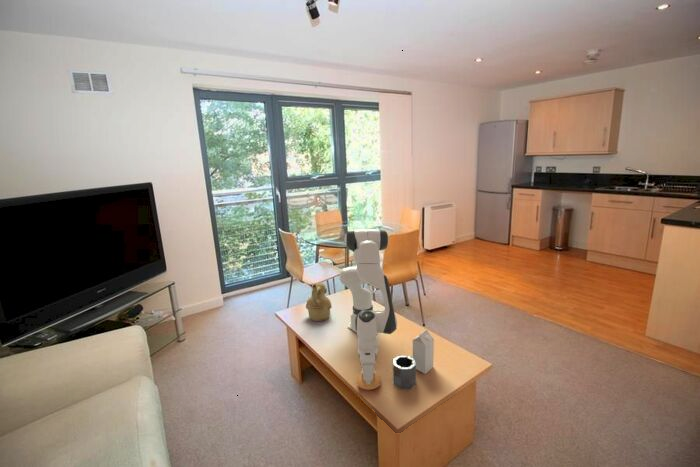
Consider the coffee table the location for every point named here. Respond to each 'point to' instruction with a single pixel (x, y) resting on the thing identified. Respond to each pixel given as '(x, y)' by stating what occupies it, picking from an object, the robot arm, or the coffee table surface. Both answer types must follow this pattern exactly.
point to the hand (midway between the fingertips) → (368, 376)
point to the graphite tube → (404, 372)
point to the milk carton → (423, 351)
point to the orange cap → (374, 382)
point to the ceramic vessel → (319, 303)
